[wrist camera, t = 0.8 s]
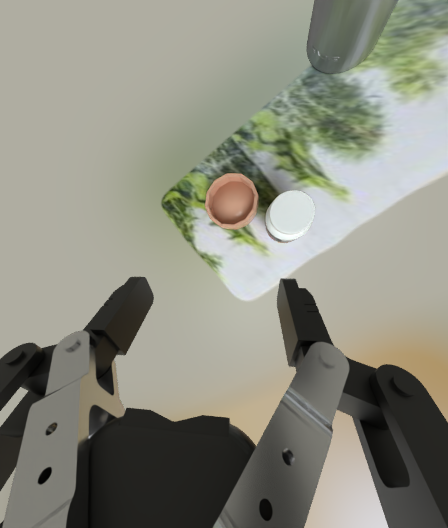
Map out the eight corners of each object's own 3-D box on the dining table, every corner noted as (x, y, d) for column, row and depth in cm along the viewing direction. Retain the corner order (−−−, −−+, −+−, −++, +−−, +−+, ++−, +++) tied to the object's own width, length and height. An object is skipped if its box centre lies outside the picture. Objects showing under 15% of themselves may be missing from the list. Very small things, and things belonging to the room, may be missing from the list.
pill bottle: (261, 217, 29) (256, 199, 20) (295, 201, 28) (308, 174, 18) (273, 248, 29) (275, 246, 19) (309, 234, 28) (329, 224, 18)
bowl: (229, 170, 30) (225, 163, 28) (269, 197, 29) (268, 192, 26) (201, 211, 32) (196, 208, 29) (238, 239, 30) (235, 237, 28)
